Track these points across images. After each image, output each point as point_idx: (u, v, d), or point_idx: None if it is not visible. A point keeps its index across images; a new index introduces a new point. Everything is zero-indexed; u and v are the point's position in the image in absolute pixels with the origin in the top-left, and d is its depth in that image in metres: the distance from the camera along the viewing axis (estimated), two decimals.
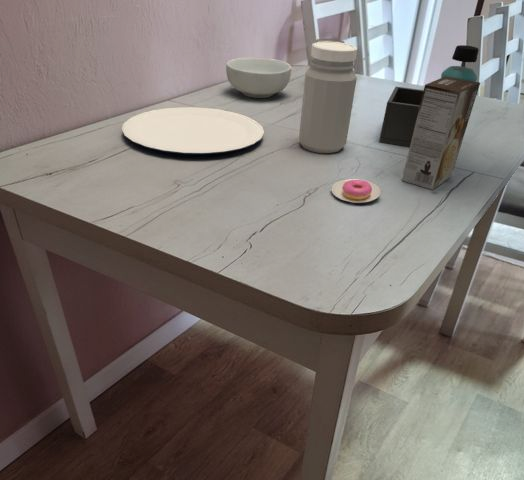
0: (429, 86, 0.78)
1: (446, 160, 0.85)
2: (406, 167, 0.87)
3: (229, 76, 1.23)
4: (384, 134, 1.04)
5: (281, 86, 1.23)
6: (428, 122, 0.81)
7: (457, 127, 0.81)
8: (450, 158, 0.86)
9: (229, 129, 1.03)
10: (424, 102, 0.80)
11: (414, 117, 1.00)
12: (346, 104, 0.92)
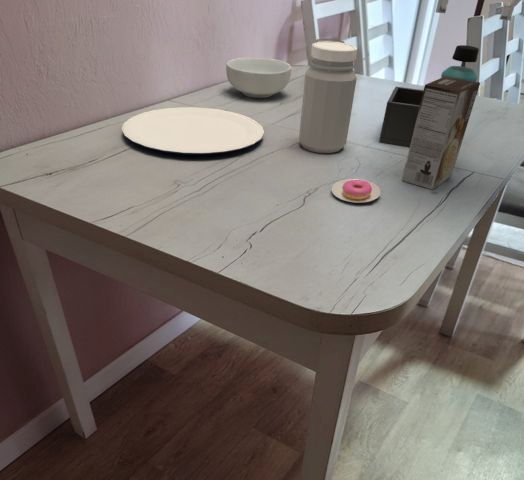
0: (429, 86, 0.78)
1: (446, 160, 0.85)
2: (406, 167, 0.87)
3: (229, 76, 1.23)
4: (384, 134, 1.04)
5: (281, 86, 1.23)
6: (428, 122, 0.81)
7: (457, 127, 0.81)
8: (450, 158, 0.86)
9: (229, 129, 1.03)
10: (424, 102, 0.80)
11: (414, 117, 1.00)
12: (346, 104, 0.92)
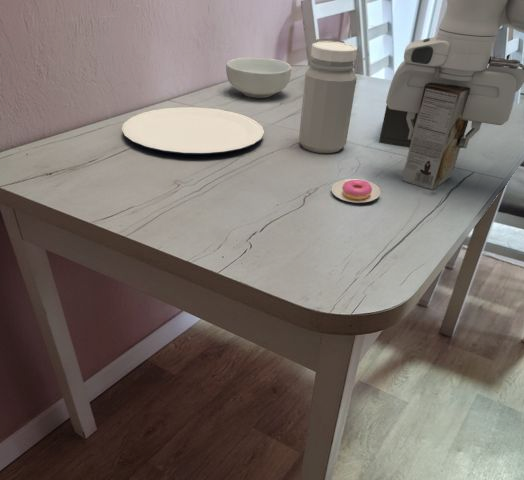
0: (429, 86, 0.78)
1: (446, 160, 0.85)
2: (406, 167, 0.87)
3: (229, 76, 1.23)
4: (384, 134, 1.04)
5: (281, 86, 1.23)
6: (428, 122, 0.81)
7: (457, 127, 0.81)
8: (450, 158, 0.86)
9: (229, 129, 1.03)
10: (424, 102, 0.80)
11: None
12: (346, 104, 0.92)
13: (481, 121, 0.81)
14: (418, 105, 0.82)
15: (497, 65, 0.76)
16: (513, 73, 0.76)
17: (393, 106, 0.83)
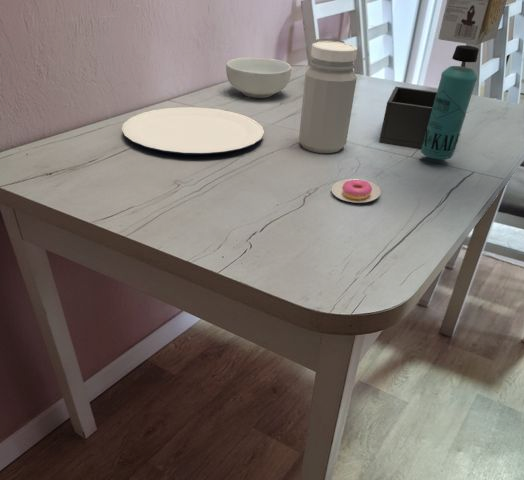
0: None
1: (493, 5, 0.71)
2: (444, 20, 0.73)
3: (229, 76, 1.23)
4: (384, 134, 1.04)
5: (281, 86, 1.23)
6: None
7: None
8: (497, 6, 0.72)
9: (229, 129, 1.03)
10: None
11: (414, 117, 1.00)
12: (346, 104, 0.92)
13: None
14: None
15: None
16: None
17: None
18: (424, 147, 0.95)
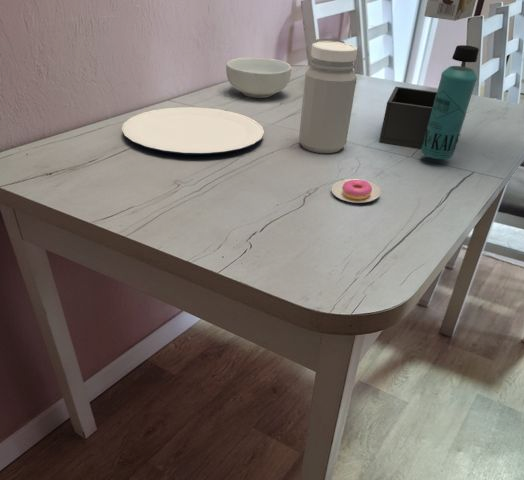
0: None
1: None
2: (428, 0, 0.90)
3: (229, 76, 1.23)
4: (384, 134, 1.04)
5: (281, 86, 1.23)
6: None
7: None
8: None
9: (229, 129, 1.03)
10: None
11: (414, 117, 1.00)
12: (346, 104, 0.92)
13: None
14: None
15: None
16: None
17: None
18: (424, 147, 0.95)
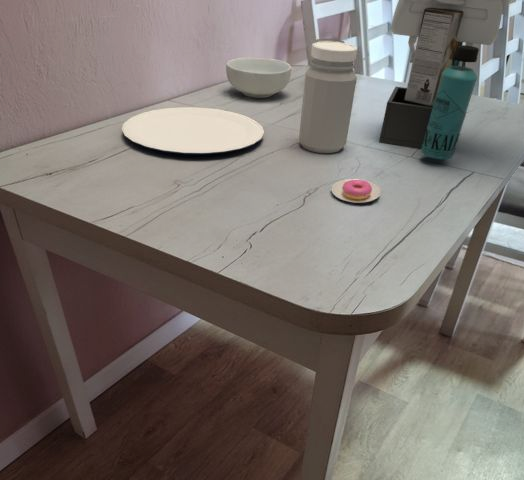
0: (428, 10, 0.91)
1: None
2: (408, 87, 1.00)
3: (229, 76, 1.23)
4: (384, 134, 1.04)
5: (281, 86, 1.23)
6: (427, 43, 0.94)
7: (452, 48, 0.94)
8: None
9: (229, 129, 1.03)
10: (423, 25, 0.93)
11: (414, 117, 1.00)
12: (346, 104, 0.92)
13: (473, 42, 0.94)
14: (418, 29, 0.95)
15: None
16: None
17: (397, 31, 0.96)
18: (424, 147, 0.95)
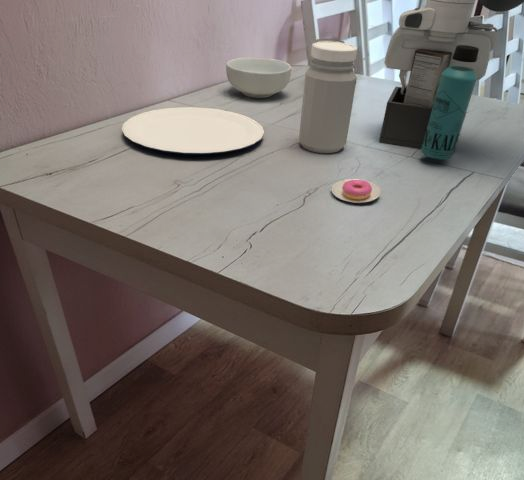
0: (418, 51, 0.96)
1: None
2: None
3: (229, 76, 1.23)
4: (384, 134, 1.04)
5: (281, 86, 1.23)
6: (418, 82, 0.99)
7: None
8: None
9: (229, 129, 1.03)
10: (414, 65, 0.97)
11: (414, 117, 1.00)
12: (346, 104, 0.92)
13: None
14: (411, 64, 0.99)
15: (475, 28, 0.93)
16: (488, 35, 0.93)
17: (390, 65, 1.00)
18: (424, 147, 0.95)
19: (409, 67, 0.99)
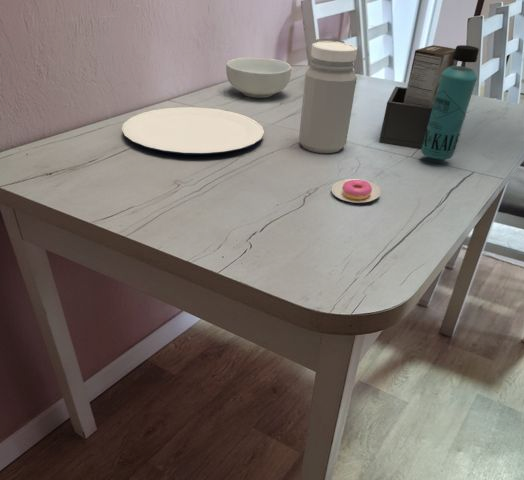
0: (419, 51, 0.96)
1: None
2: None
3: (229, 76, 1.23)
4: (384, 134, 1.04)
5: (281, 86, 1.23)
6: (418, 82, 0.99)
7: None
8: None
9: (229, 129, 1.03)
10: (414, 65, 0.97)
11: (414, 117, 1.00)
12: (346, 104, 0.92)
13: None
14: None
15: None
16: None
17: None
18: (424, 147, 0.95)
19: None
